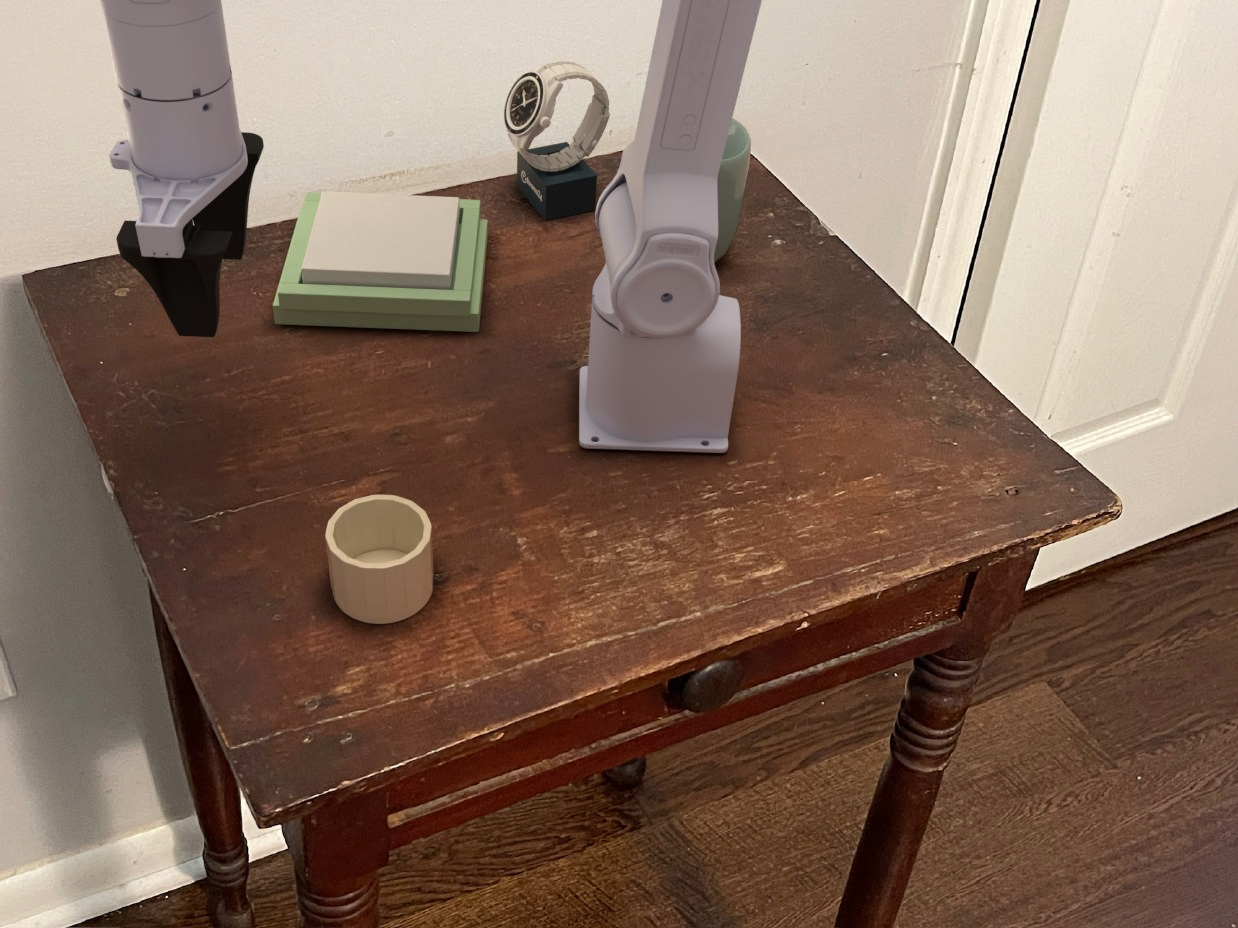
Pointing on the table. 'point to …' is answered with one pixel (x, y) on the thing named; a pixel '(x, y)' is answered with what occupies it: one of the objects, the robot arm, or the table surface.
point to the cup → (732, 185)
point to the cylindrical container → (380, 558)
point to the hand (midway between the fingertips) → (212, 293)
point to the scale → (387, 303)
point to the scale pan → (383, 241)
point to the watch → (558, 169)
